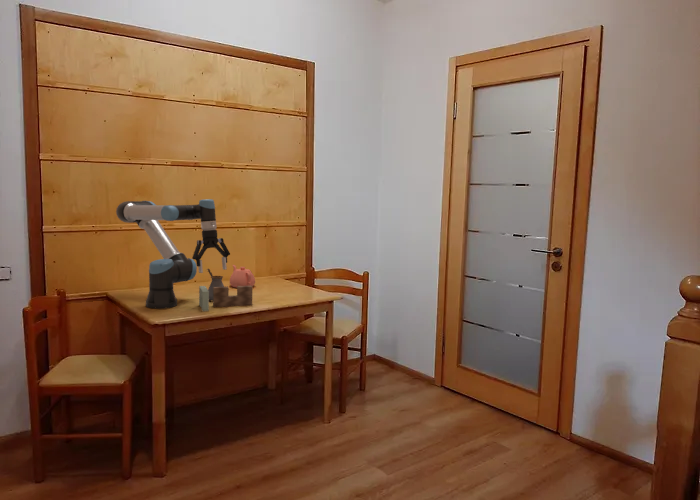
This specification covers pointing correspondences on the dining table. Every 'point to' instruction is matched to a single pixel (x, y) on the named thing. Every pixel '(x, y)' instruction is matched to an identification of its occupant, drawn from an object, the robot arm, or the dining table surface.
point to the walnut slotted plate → (224, 300)
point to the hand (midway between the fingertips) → (213, 271)
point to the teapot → (241, 277)
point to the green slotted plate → (204, 298)
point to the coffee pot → (214, 284)
